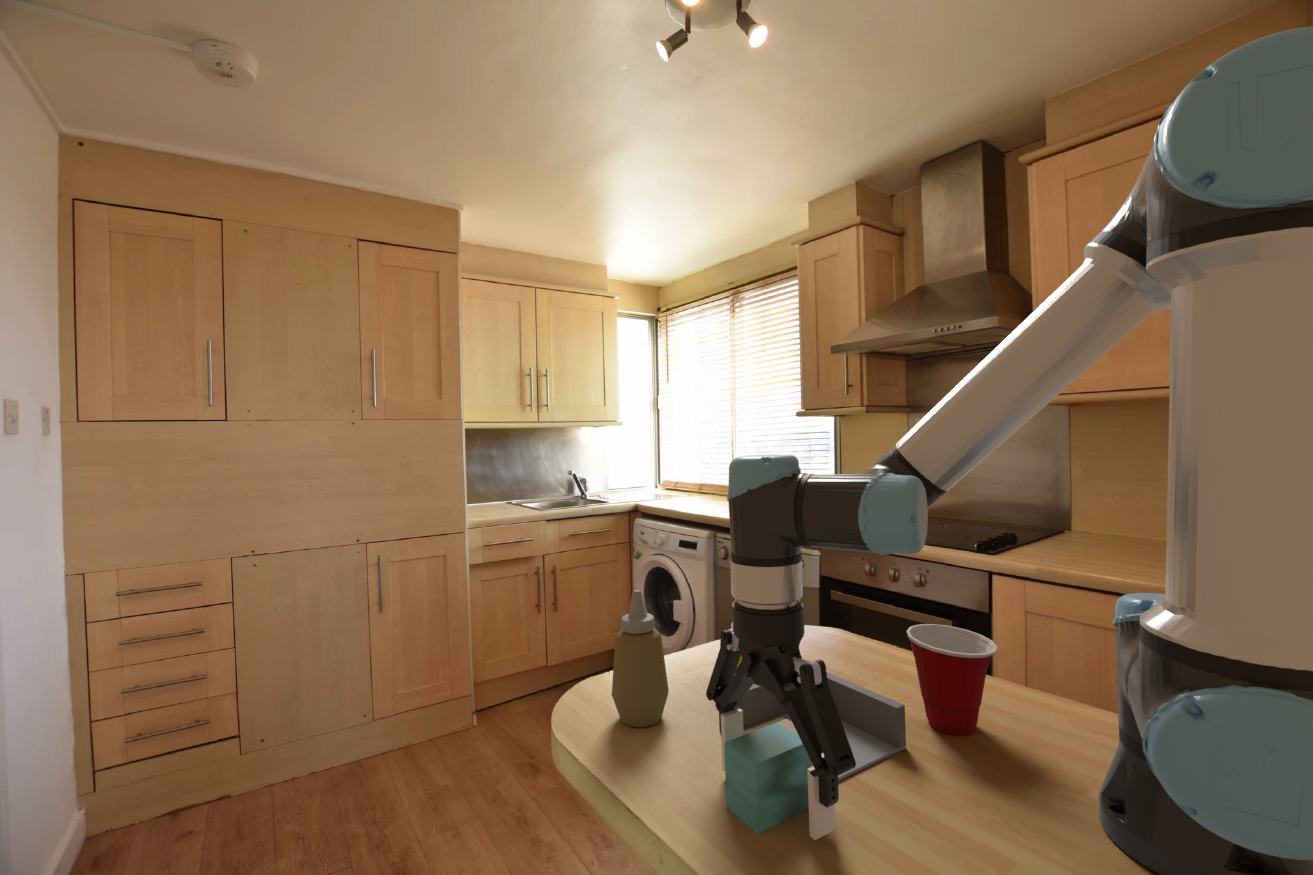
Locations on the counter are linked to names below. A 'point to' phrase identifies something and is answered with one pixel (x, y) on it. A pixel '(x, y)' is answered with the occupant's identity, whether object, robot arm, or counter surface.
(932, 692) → the plastic cup
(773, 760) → the teal block
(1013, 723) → the counter surface
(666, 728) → the counter surface
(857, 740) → the corner tray
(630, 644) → the squeeze bottle
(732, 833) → the counter surface
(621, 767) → the counter surface
